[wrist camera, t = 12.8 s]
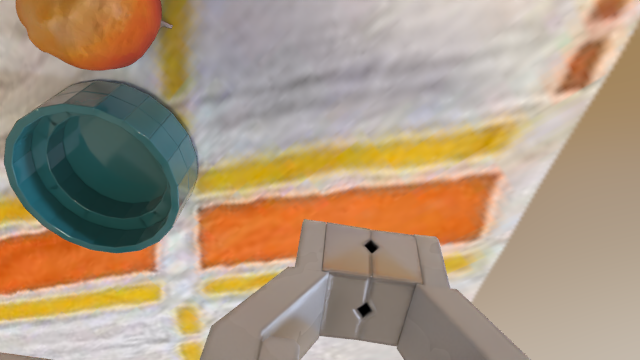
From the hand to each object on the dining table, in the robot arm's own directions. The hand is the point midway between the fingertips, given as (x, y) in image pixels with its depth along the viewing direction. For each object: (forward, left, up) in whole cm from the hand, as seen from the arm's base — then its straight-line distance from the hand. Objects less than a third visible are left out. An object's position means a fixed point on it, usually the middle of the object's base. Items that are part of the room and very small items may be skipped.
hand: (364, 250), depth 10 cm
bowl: (+13, -17, -23) cm, 31 cm away
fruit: (0, -16, -23) cm, 28 cm away
